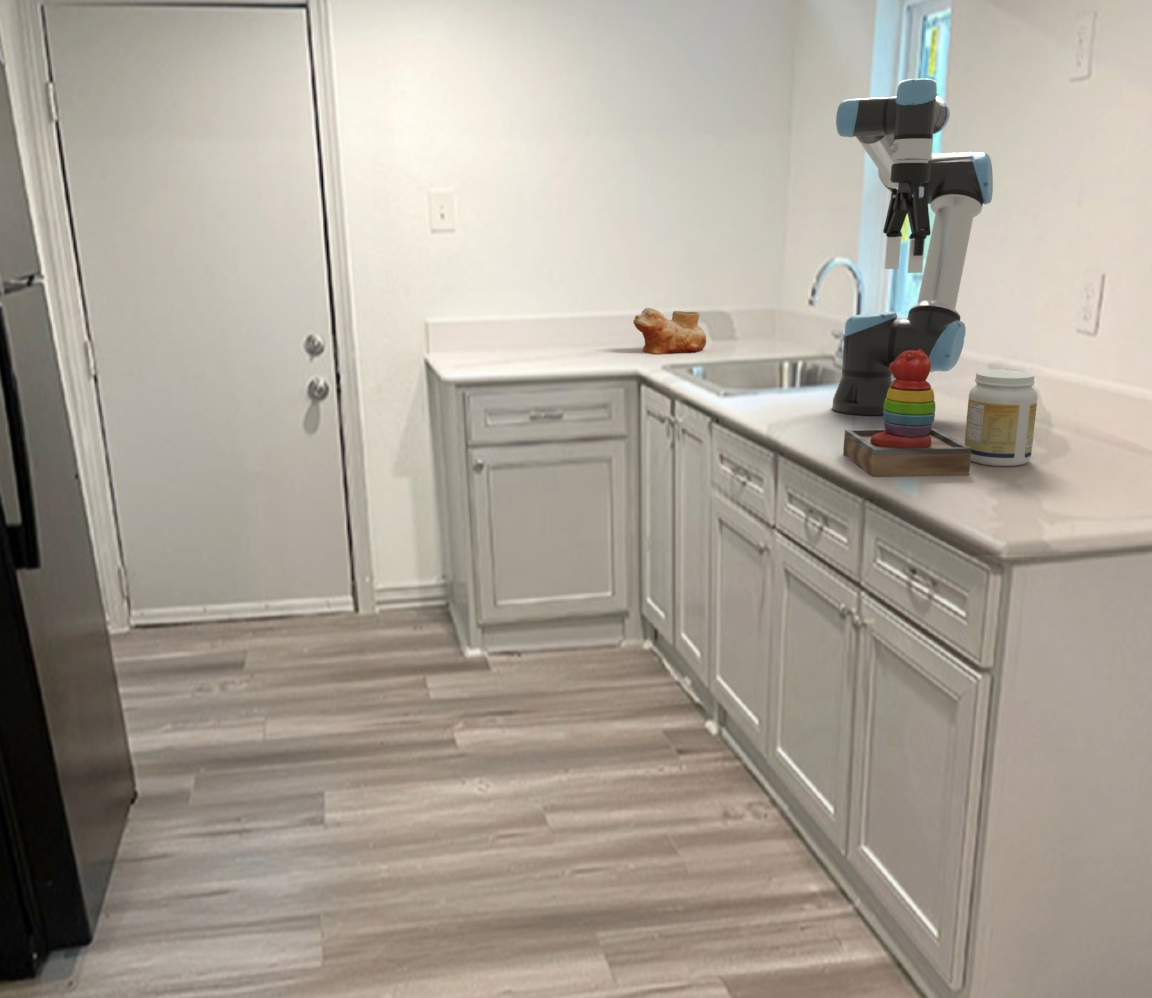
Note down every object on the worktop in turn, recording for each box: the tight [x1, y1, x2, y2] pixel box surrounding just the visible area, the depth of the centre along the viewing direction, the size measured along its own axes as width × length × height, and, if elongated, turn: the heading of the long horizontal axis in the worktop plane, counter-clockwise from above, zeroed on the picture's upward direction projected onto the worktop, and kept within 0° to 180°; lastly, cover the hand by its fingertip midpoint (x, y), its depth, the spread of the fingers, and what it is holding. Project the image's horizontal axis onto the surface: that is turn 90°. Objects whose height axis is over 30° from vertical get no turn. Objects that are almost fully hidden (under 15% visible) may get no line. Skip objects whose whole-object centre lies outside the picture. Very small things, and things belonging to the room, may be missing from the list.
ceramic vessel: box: [632, 307, 707, 356], centre depth 356 cm, size 14×26×15 cm, turn 108°
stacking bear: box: [870, 349, 936, 448], centre depth 197 cm, size 11×10×18 cm
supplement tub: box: [963, 369, 1038, 467], centre depth 201 cm, size 12×12×17 cm
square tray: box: [842, 427, 972, 478], centre depth 199 cm, size 18×18×5 cm
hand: (902, 271), depth 215 cm, fingers open, 13 cm apart
